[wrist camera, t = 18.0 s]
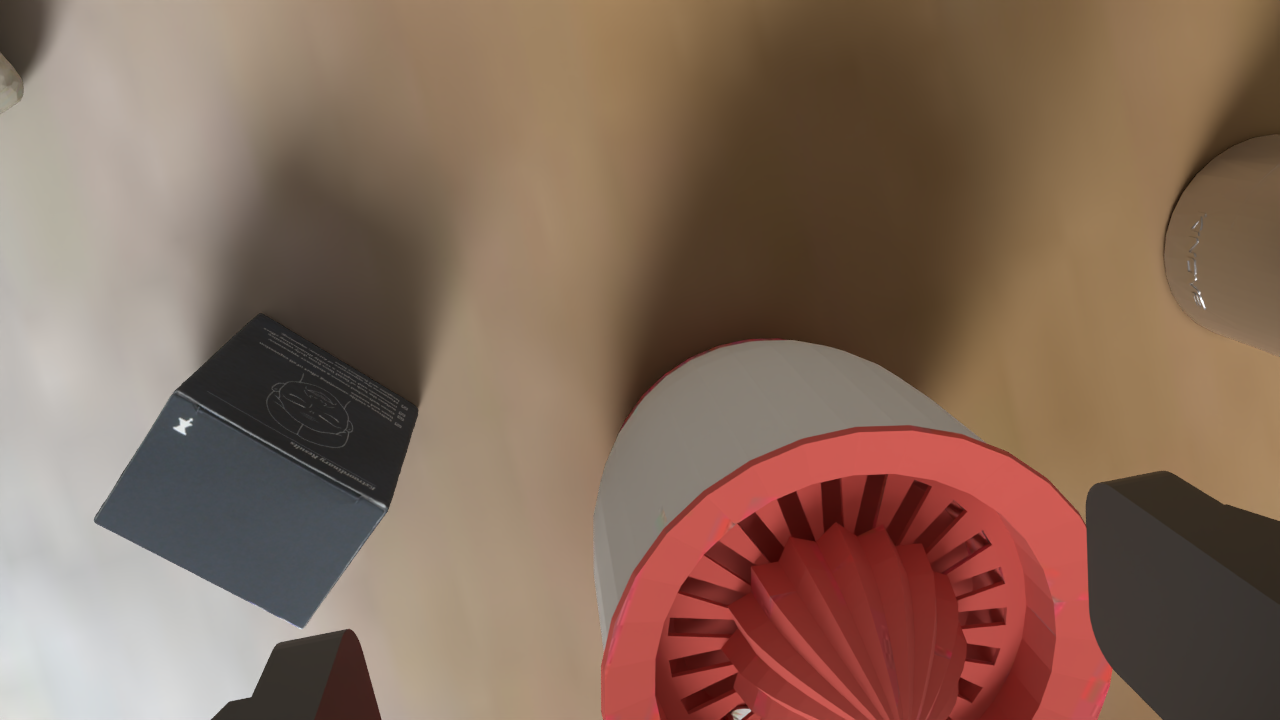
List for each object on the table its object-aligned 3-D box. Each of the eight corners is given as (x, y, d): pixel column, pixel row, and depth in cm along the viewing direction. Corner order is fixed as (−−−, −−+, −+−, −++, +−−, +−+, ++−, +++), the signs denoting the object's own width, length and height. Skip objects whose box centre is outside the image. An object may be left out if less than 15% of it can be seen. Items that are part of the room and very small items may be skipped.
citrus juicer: (524, 609, 46) (519, 986, 27) (633, 254, 42) (720, 400, 23) (831, 676, 49) (1025, 1062, 30) (961, 349, 45) (1282, 551, 26)
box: (192, 416, 42) (84, 523, 32) (261, 308, 41) (172, 383, 31) (355, 508, 44) (302, 637, 34) (424, 407, 43) (391, 509, 33)
